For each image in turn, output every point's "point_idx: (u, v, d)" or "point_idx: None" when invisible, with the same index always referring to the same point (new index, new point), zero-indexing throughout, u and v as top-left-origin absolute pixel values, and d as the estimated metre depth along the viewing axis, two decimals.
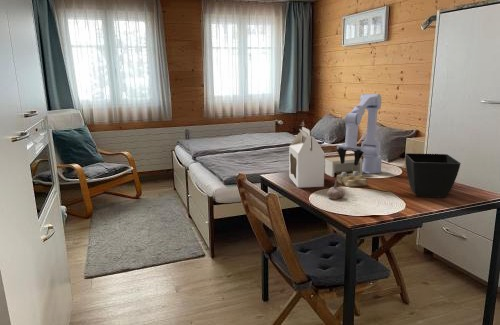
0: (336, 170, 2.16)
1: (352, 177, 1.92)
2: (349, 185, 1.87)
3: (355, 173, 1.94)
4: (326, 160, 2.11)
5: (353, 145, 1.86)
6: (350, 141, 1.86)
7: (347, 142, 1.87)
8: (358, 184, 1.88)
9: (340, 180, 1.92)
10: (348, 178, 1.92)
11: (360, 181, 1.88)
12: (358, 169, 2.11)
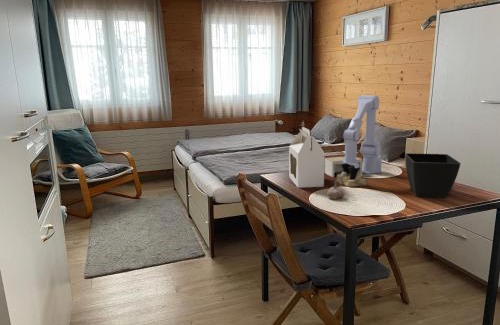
0: (336, 170, 2.16)
1: None
2: (349, 185, 1.87)
3: None
4: (326, 160, 2.11)
5: (350, 161, 1.90)
6: (347, 157, 1.91)
7: (345, 158, 1.92)
8: (358, 184, 1.88)
9: (340, 180, 1.92)
10: (348, 178, 1.92)
11: (360, 181, 1.88)
12: None
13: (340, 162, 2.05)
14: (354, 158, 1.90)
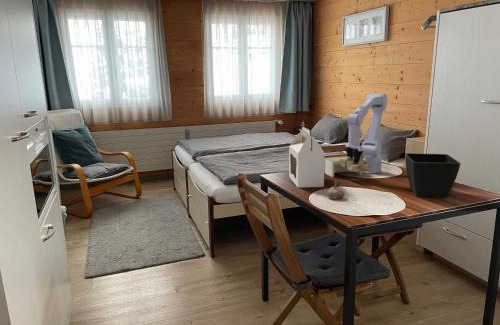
0: (336, 170, 2.16)
1: None
2: (352, 170, 1.92)
3: None
4: (326, 160, 2.11)
5: (353, 145, 1.96)
6: (350, 141, 1.96)
7: (348, 142, 1.98)
8: (361, 169, 1.94)
9: (343, 164, 1.98)
10: (351, 163, 1.97)
11: (363, 167, 1.93)
12: None
13: None
14: (357, 142, 1.96)
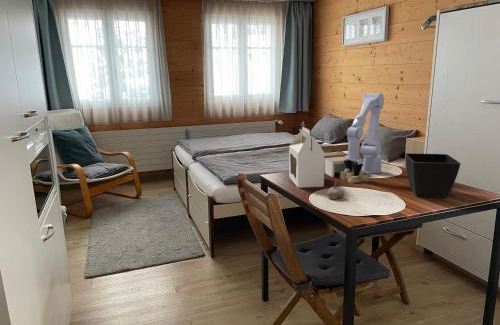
0: (336, 170, 2.16)
1: None
2: (352, 181, 1.94)
3: None
4: (326, 160, 2.11)
5: (353, 157, 1.97)
6: (350, 154, 1.98)
7: (348, 154, 1.99)
8: (361, 180, 1.95)
9: (343, 176, 1.99)
10: (351, 174, 1.99)
11: (363, 177, 1.95)
12: None
13: (340, 162, 2.05)
14: (357, 155, 1.97)
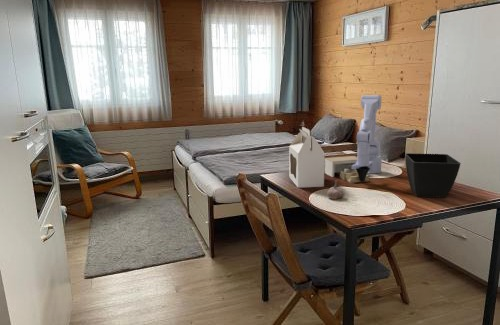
0: (336, 170, 2.16)
1: (355, 173, 1.99)
2: (352, 181, 1.94)
3: None
4: (326, 160, 2.11)
5: (357, 162, 1.91)
6: None
7: None
8: None
9: (343, 176, 1.99)
10: (351, 174, 1.99)
11: None
12: None
13: (340, 162, 2.05)
14: (360, 160, 1.89)
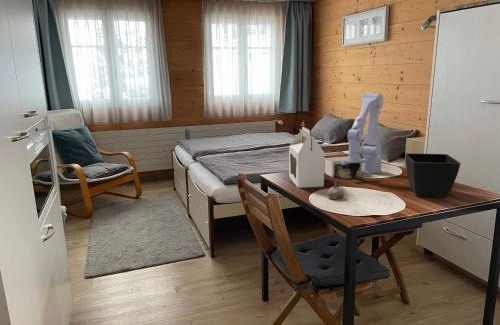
0: None
1: (347, 170, 2.07)
2: (344, 177, 2.02)
3: None
4: (326, 160, 2.11)
5: None
6: None
7: None
8: None
9: (336, 173, 2.07)
10: (343, 171, 2.07)
11: None
12: (358, 169, 2.11)
13: (340, 162, 2.05)
14: (350, 156, 1.98)
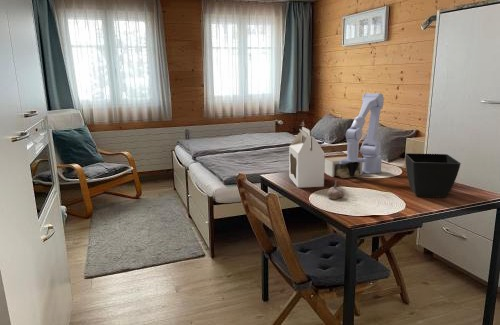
0: None
1: (346, 169, 2.09)
2: (343, 176, 2.04)
3: None
4: (326, 160, 2.11)
5: (347, 158, 2.02)
6: None
7: None
8: None
9: (335, 172, 2.09)
10: (342, 170, 2.09)
11: None
12: (358, 169, 2.11)
13: None
14: (348, 156, 1.99)
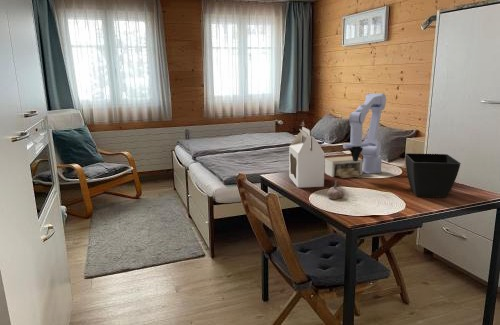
0: None
1: (346, 169, 2.09)
2: (343, 176, 2.04)
3: (348, 165, 2.11)
4: (326, 160, 2.11)
5: (350, 142, 1.97)
6: None
7: None
8: (351, 175, 2.05)
9: (335, 172, 2.09)
10: (342, 170, 2.09)
11: (353, 173, 2.05)
12: (358, 169, 2.11)
13: (340, 162, 2.05)
14: (352, 140, 1.94)
